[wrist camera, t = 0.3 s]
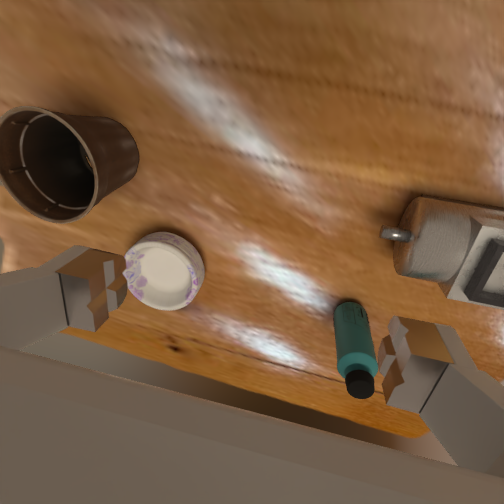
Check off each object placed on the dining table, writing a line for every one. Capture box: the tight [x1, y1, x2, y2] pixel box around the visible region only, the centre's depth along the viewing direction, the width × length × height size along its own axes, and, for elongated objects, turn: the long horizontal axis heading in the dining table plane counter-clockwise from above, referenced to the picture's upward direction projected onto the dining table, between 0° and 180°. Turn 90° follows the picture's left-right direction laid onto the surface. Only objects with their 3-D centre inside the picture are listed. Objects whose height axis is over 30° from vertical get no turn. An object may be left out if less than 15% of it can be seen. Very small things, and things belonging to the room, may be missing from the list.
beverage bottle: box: [333, 302, 378, 399], centre depth 55 cm, size 6×7×20 cm
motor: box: [379, 194, 504, 310], centre depth 47 cm, size 12×26×16 cm, turn 83°
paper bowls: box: [122, 232, 205, 310], centre depth 63 cm, size 15×15×8 cm
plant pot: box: [0, 106, 139, 224], centre depth 52 cm, size 16×16×16 cm
